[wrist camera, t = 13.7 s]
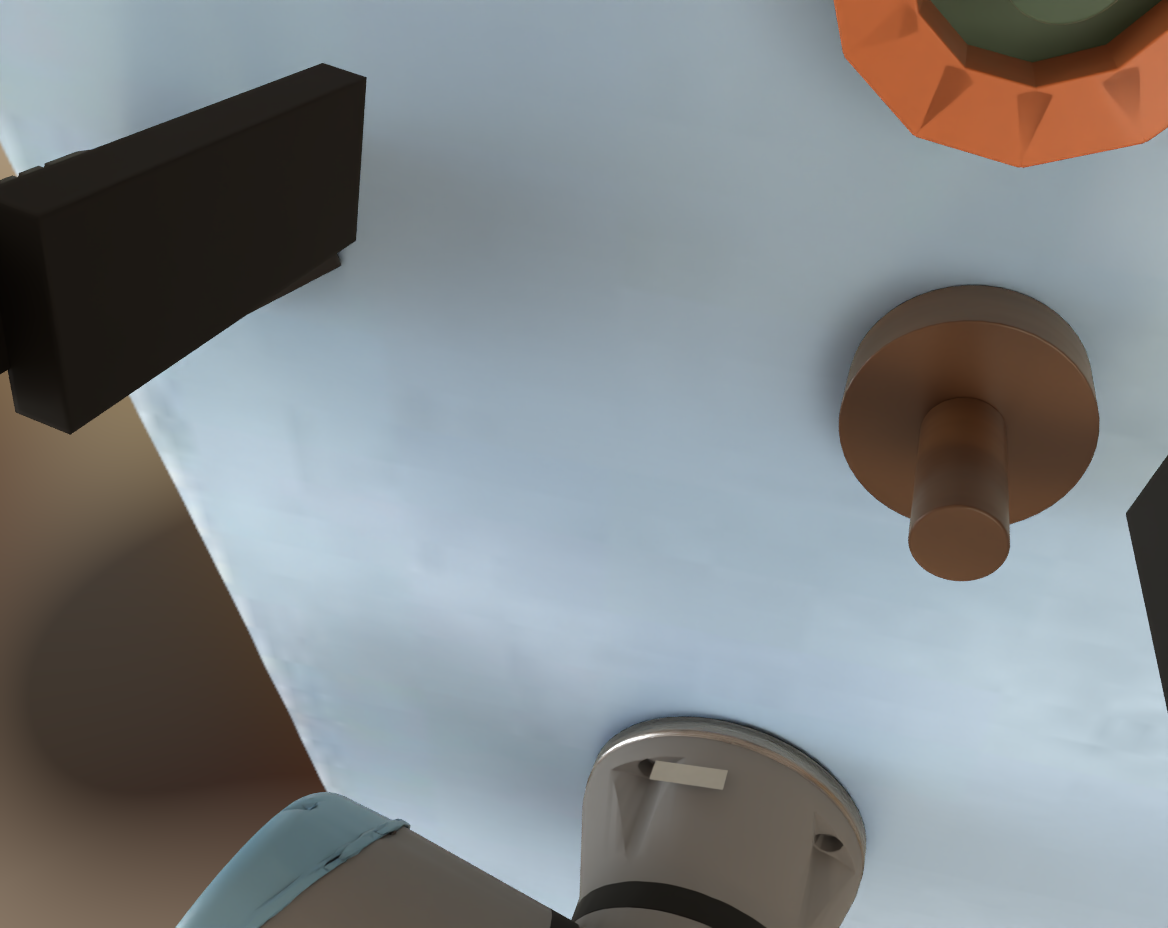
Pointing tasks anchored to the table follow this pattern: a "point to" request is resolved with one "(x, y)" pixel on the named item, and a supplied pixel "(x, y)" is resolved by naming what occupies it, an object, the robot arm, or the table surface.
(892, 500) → the walnut peg
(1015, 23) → the sage peg
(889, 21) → the ring
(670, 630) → the table surface
